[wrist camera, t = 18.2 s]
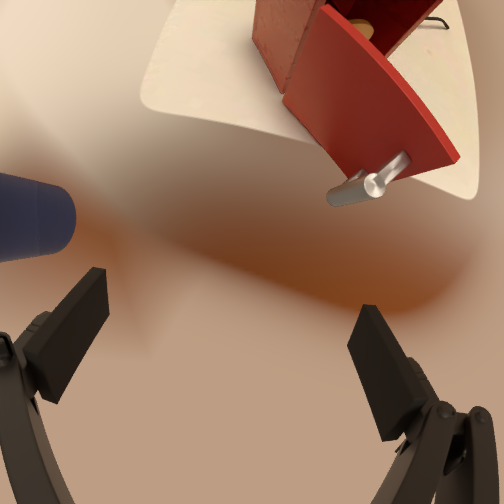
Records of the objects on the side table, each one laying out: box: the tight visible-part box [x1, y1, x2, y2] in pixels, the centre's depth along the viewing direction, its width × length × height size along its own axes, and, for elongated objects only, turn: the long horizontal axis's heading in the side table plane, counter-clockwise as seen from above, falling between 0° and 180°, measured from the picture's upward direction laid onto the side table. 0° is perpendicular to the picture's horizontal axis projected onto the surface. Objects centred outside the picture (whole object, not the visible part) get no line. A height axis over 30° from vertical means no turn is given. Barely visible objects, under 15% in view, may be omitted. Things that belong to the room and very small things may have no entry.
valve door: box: [282, 4, 460, 207], centre depth 21 cm, size 5×12×15 cm, turn 40°
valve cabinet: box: [252, 0, 443, 94], centre depth 20 cm, size 8×12×16 cm, turn 112°
